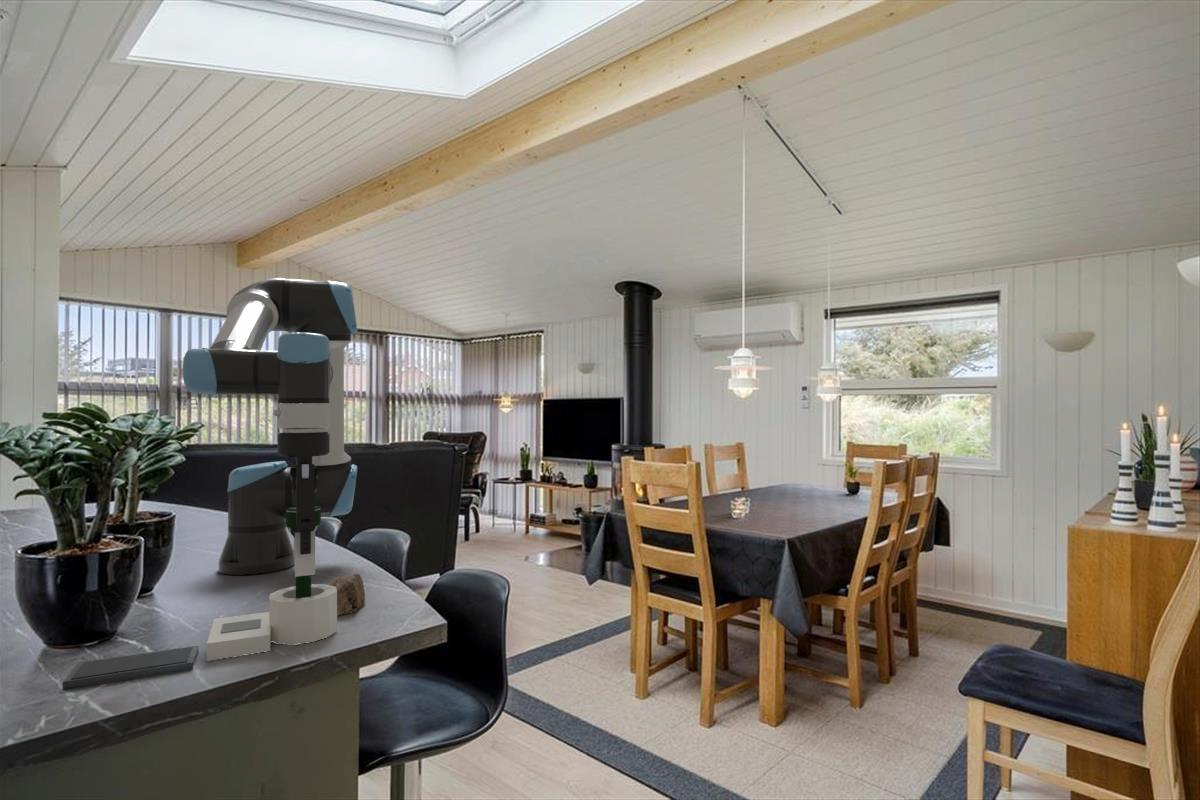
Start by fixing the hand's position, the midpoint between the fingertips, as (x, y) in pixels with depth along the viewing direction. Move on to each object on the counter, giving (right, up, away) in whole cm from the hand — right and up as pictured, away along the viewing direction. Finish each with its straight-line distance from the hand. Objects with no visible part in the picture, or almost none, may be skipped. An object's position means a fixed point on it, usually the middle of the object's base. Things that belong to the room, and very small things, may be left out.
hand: (303, 565), depth 102 cm
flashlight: (0, -11, 0) cm, 11 cm away
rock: (-1, -12, +16) cm, 19 cm away
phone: (-17, -11, -14) cm, 24 cm away
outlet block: (-3, -11, -2) cm, 11 cm away
